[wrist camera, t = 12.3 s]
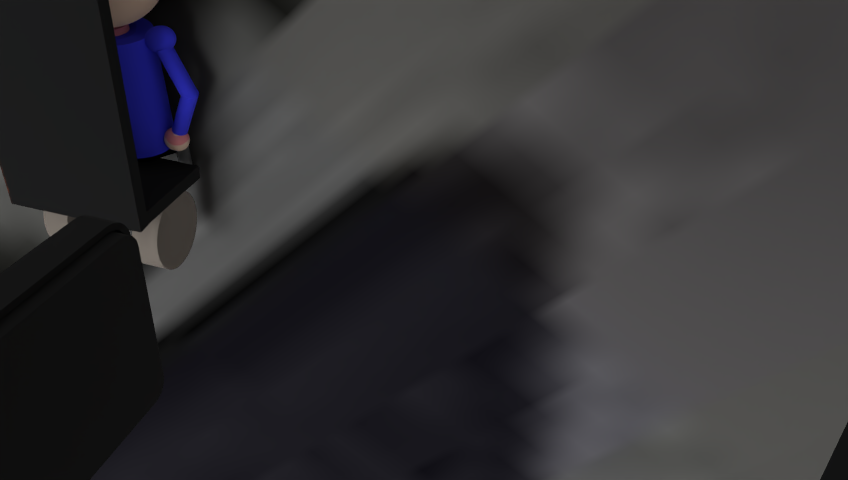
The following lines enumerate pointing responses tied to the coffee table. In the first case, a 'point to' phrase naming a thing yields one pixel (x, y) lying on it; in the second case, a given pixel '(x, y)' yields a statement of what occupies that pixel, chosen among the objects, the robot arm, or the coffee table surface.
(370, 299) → the coffee table surface
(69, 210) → the figurine character
